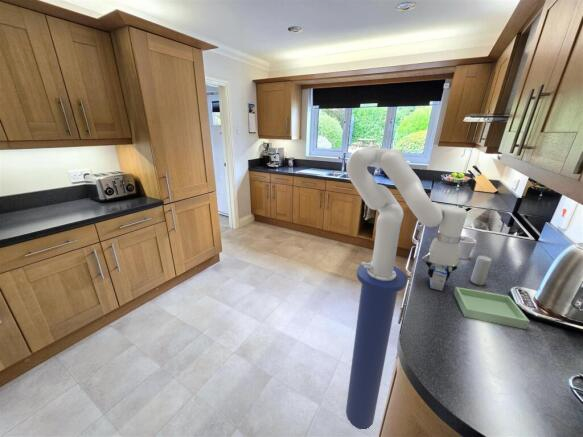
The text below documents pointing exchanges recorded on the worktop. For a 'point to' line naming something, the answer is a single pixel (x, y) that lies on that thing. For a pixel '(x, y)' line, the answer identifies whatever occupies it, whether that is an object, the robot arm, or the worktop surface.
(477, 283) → the beverage can
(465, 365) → the worktop surface
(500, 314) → the tray
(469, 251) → the dixie cup
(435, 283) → the medicine box
